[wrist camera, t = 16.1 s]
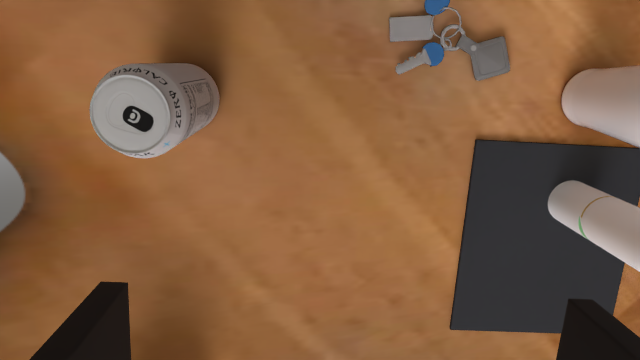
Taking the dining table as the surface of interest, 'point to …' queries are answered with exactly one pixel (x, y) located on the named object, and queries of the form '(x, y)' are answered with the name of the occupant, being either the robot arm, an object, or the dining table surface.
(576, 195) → the tube
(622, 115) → the drinking glass
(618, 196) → the charcoal mat
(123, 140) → the energy drink can
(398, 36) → the key chain
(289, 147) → the dining table surface
